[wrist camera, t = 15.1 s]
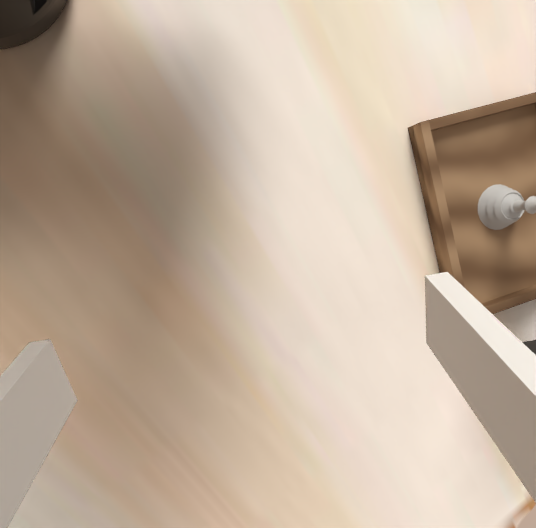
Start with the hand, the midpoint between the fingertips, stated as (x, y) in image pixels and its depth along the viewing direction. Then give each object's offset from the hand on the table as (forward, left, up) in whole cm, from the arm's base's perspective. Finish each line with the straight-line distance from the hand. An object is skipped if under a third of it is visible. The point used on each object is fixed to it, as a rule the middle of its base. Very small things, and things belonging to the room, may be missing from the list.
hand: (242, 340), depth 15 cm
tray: (+3, +33, -28) cm, 43 cm away
